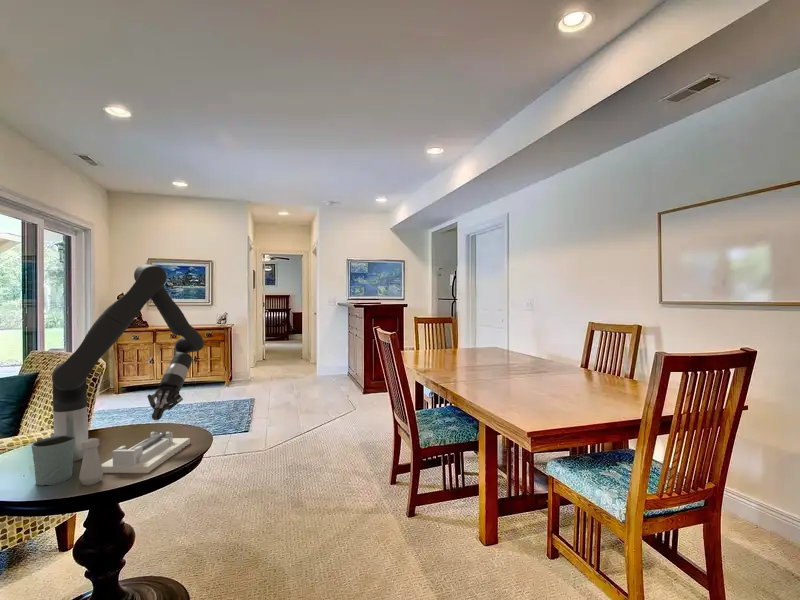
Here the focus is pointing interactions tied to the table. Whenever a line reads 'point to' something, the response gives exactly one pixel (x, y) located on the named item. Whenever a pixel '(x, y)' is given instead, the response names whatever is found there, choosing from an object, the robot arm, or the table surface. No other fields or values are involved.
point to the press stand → (144, 455)
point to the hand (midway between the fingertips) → (155, 419)
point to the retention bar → (150, 440)
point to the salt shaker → (90, 463)
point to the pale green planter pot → (53, 459)
